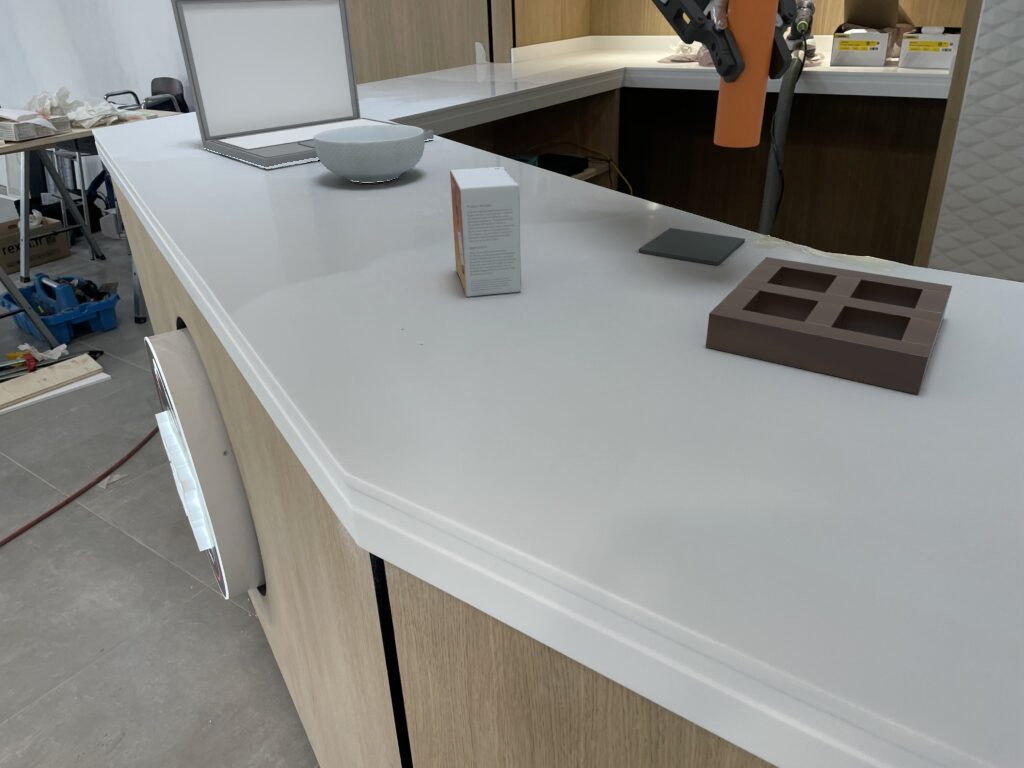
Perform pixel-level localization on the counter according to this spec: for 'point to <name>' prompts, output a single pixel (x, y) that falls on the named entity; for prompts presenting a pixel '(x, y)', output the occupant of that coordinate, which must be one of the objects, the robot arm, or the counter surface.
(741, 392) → the counter surface
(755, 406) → the counter surface
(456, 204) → the small box
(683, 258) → the mat
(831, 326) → the peg board
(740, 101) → the peg
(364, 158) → the cereal bowl
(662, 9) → the robot arm
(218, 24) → the laptop
